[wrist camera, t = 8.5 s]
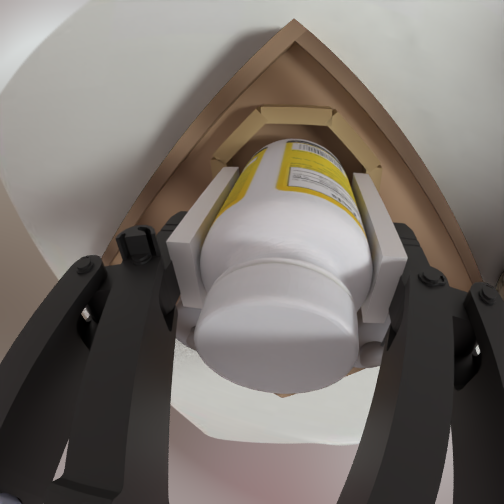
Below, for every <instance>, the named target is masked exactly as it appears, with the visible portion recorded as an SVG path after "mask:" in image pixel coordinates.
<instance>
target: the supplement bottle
mask: <svg viewBox="0 0 504 504" xmlns="http://www.w3.org/2000/svg"><path fill="white" fill-rule="evenodd" d="M200 271H201V278H202V281H203V284H204V287H205V290H206V292H207V296H206V298H205V301H204V304H203V307H202V310H201V313H200V316H199V318H198V321H197V323H196V327H195V330H194V343H195V347H196V350H197V352H198V354H199V356H200V357H201V359H202V360H203V361H204V363H205V364H206V365H207V366H209V367H210V368H211V369H212V370H213V371H214V372H216V373H217V374H219V375H220V376H222V377H223V378H225V379H227V380H229V381H231V382H233V383H235V384H238V385H240V386H244V387H247V388H250V389H253V390H258V391H263V392H269V393H280V394H293V393H305V392H310V391H315V390H319V389H322V388H325V387H328V386H330V385H332V384H334V383H336V382H338V381H339V380H341V379H342V378H343V377H345V376H346V375H347V374H348V373H349V372H350V371H351V370H352V368H353V367H354V365H355V363H356V361H357V358H358V353H359V336H358V320H357V311H358V310H359V309H360V307H361V306H362V305H363V303H364V301H365V299H366V297H367V295H368V293H369V290H370V286H371V282H372V274H373V266H372V258H371V253H370V248H369V244H368V240H367V237H366V234H365V230H364V227H363V223H362V220H361V217H360V213H359V210H358V207H357V204H356V201H355V198H354V195H353V192H352V189H351V186H350V183H349V180H348V178H347V175H346V173H345V171H344V169H343V167H342V165H341V164H340V162H339V161H338V160H337V158H336V157H335V156H334V155H333V154H332V153H331V152H329V151H328V150H327V149H325V148H324V147H322V146H320V145H318V144H316V143H314V142H311V141H307V140H303V139H284V140H279V141H276V142H273V143H271V144H269V145H267V146H265V147H263V148H262V149H260V150H259V151H258V152H257V153H256V154H255V155H254V156H253V157H252V158H251V159H250V161H249V162H248V163H247V165H246V166H245V168H244V170H243V171H242V173H241V175H240V177H239V178H238V180H237V182H236V183H235V185H234V187H233V189H232V190H231V192H230V194H229V196H228V197H227V199H226V201H225V203H224V204H223V206H222V208H221V210H220V211H219V213H218V215H217V216H216V218H215V220H214V222H213V224H212V226H211V228H210V230H209V232H208V234H207V237H206V239H205V241H204V244H203V247H202V252H201V258H200Z"/></svg>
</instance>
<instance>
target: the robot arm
mask: <svg viewBox="0 0 504 504" xmlns="http://www.w3.org/2000/svg"><path fill="white" fill-rule="evenodd" d="M238 178H239V167H223V168H222V169H221V171H220V172H219V173H218V174H217V176H216V177H215V178H214V179H213V181H212V182H211V183H210V184H209V186H208V187H207V188H206V189H205V191H204V192H203V193H202V194H201V196H200V197H199V198H198V200H197V201H196V202H195V203H194V205H193V206H192V207H191V209H190V210H189V211H180V212H178V213H176V214H175V215H173V216H172V217H170V219H169V220H168V221H167V222H166V224H165V225H164V226H163V227H162V229H161V231H159V232H158V234H157V235H156V233H155V229H154V228H153V227H152V226H148V225H137V226H133V227H130V228H128V229H125V230H124V231H122V232H121V233H119V234H118V235H117V237H116V238H115V239H116V242H117V245H118V248H119V251H120V254H121V257H122V263H121V264H117V265H110V266H104V263H103V261H102V259H101V258H100V257H99V256H96V255H89V256H86V257H82V258H81V259H79V260H78V261H76V262H75V263H74V264H73V265H72V266H71V267H70V268H69V269H68V271H67V272H66V273H65V274H64V275H63V277H62V278H61V279H60V280H59V281H58V283H57V284H56V286H54V288H53V289H52V290H51V292H50V293H49V294H48V295H47V297H46V298H45V299H44V301H43V302H42V303H41V305H40V306H39V307H38V309H37V310H36V311H35V313H34V314H33V315H32V317H31V318H30V320H29V321H28V322H27V324H26V325H25V327H24V328H23V330H22V331H21V332H20V334H19V335H18V337H17V338H16V340H15V341H14V343H13V344H12V346H11V348H10V349H9V351H8V352H7V354H6V356H5V357H4V359H3V360H2V362H1V364H0V504H43V503H44V504H169V499H168V449H169V447H168V445H169V420H170V401H171V385H172V372H173V360H174V349H175V338H176V329H177V320H178V310H177V307H176V302H177V300H178V298H179V296H181V300H182V303H183V306H184V307H191V308H199V309H202V307H203V304H204V301H205V298H206V296H207V292H206V290H205V287H204V284H203V281H202V278H201V271H200V258H201V252H202V247H203V244H204V241H205V239H206V237H207V234H208V232H209V230H210V228H211V226H212V224H213V222H214V220H215V218H216V216H217V215H218V213H219V211H220V210H221V208H222V206H223V204H224V203H225V201H226V199H227V197H228V196H229V194H230V192H231V190H232V189H233V187H234V185H235V183H236V182H237V180H238ZM351 189H352V192H353V195H354V198H355V201H356V204H357V207H358V210H359V213H360V217H361V220H362V223H363V227H364V230H365V234H366V237H367V240H368V244H369V248H370V253H371V258H372V266H373V274H372V282H371V286H370V290H369V293H368V295H367V297H366V299H365V301H364V303H363V305H362V306H361V310H362V318H363V323H384V322H385V320H386V317H387V315H388V312H389V315H390V320H391V323H390V325H389V328H388V330H387V332H386V334H385V337H384V339H383V341H382V343H381V345H380V346H382V347H383V346H384V350H383V355H382V360H381V365H380V370H379V374H378V379H377V383H376V387H375V392H374V396H373V400H372V403H371V407H370V411H369V414H368V418H367V421H366V425H365V428H364V431H363V435H362V438H361V441H360V444H359V447H358V450H357V453H356V456H355V459H354V461H353V464H352V467H351V470H350V472H349V475H348V477H347V480H346V482H345V485H344V487H343V490H342V492H341V494H340V497H339V499H338V501H337V504H435V501H436V498H437V494H438V490H439V486H440V482H441V478H442V473H443V469H444V464H445V459H446V453H447V447H448V440H449V433H450V425H451V431H452V444H453V465H454V489H453V491H454V492H453V504H504V301H503V299H502V297H501V296H500V294H499V293H498V291H497V290H496V289H494V287H493V286H491V285H489V284H487V283H483V282H475V283H474V284H473V285H472V286H471V288H470V290H469V292H465V291H462V290H459V289H456V288H453V287H450V286H449V283H448V280H447V278H446V276H445V275H444V274H443V273H442V272H441V271H439V270H438V269H436V268H434V267H431V266H430V264H429V262H428V260H427V258H426V256H425V254H424V252H423V250H422V247H420V243H419V241H418V240H417V237H416V236H415V234H414V232H413V230H412V229H411V228H409V227H408V226H407V225H406V224H405V223H395V222H392V220H391V218H390V216H389V214H388V211H387V209H386V207H385V205H384V203H383V201H382V199H381V197H380V195H379V193H378V191H377V189H376V187H375V185H374V183H373V182H372V180H371V178H370V176H369V174H363V173H353V179H352V188H351ZM84 308H86V309H87V311H88V313H89V315H90V316H89V317H88V318H87V319H86V320H85V319H84V318H83V316H82V315H81V313H82V311H83V310H84ZM477 345H479V349H480V354H479V355H478V354H477V352H476V349H475V348H476V346H477ZM68 439H69V444H68V449H67V457H66V463H65V469H64V473H63V475H62V476H61V478H59V479H57V480H55V481H53V478H54V476H55V473H56V470H57V467H58V465H59V462H60V459H61V457H62V454H63V452H64V449H65V447H66V444H67V442H68ZM52 481H53V482H52Z"/></svg>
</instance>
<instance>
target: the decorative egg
mask: <svg viewBox="0 0 504 504" xmlns="http://www.w3.org/2000/svg"><path fill="white" fill-rule="evenodd" d="M496 290H497V291H498V293H499V294H500V296H501V297H502V299H503V301H504V272H503V274H502V275H501V277H500V279H499V280H498V283H497V286H496Z"/></svg>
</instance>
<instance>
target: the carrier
mask: <svg viewBox="0 0 504 504" xmlns="http://www.w3.org/2000/svg"><path fill="white" fill-rule="evenodd" d="M284 139H303V140H307V141H311V142H314V143H316V144H318V145H320V146H322V147H324V148H325V149H327V150H328V151H329V152H331V153H332V154H333V155H334V156H335V157H336V158H337V160H338V161H339V162H340V164H341V165H342V167H343V169H344V171H345V173H346V175H347V178H348V180H349V183H350V186H351V188H352V179H353V173H363V174H369V176H370V178H371V180H372V182H373V183H374V185H375V187H376V189H377V191H378V193H379V195H380V197H381V199H382V201H383V203H384V205H385V207H386V209H387V211H388V214H389V216H390V218H391V220H392V222H395V223H405V224H406V225H407V226H408V227H409V228H411V229H412V230H413V232H414V234H415V236H416V237H417V240H418V241H419V243H420V247H422V250H423V252H424V254H425V256H426V258H427V260H428V262H429V264H430V266H431V267H434V268H436V269H438V270H439V271H441V272H442V273H443V274H444V275H445V276H446V278H447V280H448V283H449V286H450V287H453V288H456V289H459V290H462V291H465V292H469V290H470V288H471V286H472V285H473V284H474V283H475V282H483V280H482V278H481V275H480V272H479V270H478V267H477V265H476V262H475V260H474V257H473V255H472V253H471V250H470V248H469V246H468V244H467V241H466V239H465V237H464V235H463V233H462V231H461V229H460V226H459V224H458V222H457V220H456V218H455V216H454V214H453V213H452V211H451V209H450V207H449V205H448V203H447V201H446V199H445V198H444V196H443V194H442V192H441V191H440V189H439V187H438V185H437V184H436V182H435V180H434V179H433V177H432V175H431V174H430V172H429V171H428V169H427V167H426V166H425V164H424V163H423V161H422V160H421V158H420V157H419V155H418V154H417V152H416V151H415V149H414V148H413V146H412V145H411V143H410V142H409V141H408V139H407V138H406V136H405V135H404V134H403V132H402V131H401V129H400V128H399V127H398V125H397V124H396V123H395V122H394V120H393V119H392V118H391V116H390V115H389V114H388V113H387V111H386V110H385V109H384V108H383V106H382V105H381V104H380V103H379V102H378V100H377V99H376V98H375V97H374V96H373V94H372V93H371V92H370V91H369V90H368V89H367V88H366V86H365V85H364V84H363V83H362V82H361V81H360V80H359V79H358V78H357V77H356V75H355V74H354V73H353V72H352V71H351V70H350V69H349V68H348V67H347V66H346V65H345V64H344V63H343V62H342V61H341V60H340V59H339V58H338V57H337V56H336V55H335V54H334V53H333V52H332V51H331V50H330V49H329V48H328V47H326V46H325V45H324V44H323V43H322V42H321V41H320V40H319V39H318V38H317V37H315V36H314V35H313V34H312V33H311V32H310V31H309V30H307V29H306V28H305V27H304V26H303V25H301V24H300V23H299V22H298V21H297V20H295V19H293V20H292V21H290V22H289V23H288V24H287V25H286V26H285V27H283V28H282V29H281V30H280V31H279V32H278V33H277V34H276V35H275V36H274V37H272V38H271V39H270V40H269V41H268V42H267V43H266V44H265V45H264V46H263V47H262V48H261V49H260V50H259V51H258V52H257V53H256V54H255V55H254V56H253V57H252V58H251V59H250V60H249V61H248V62H247V63H246V64H245V65H244V66H243V67H242V68H241V69H240V70H239V71H238V72H237V73H236V74H235V75H234V76H233V77H232V78H231V79H230V80H229V81H228V82H227V84H226V85H225V86H224V87H223V88H222V89H221V90H220V91H219V92H218V94H217V95H216V96H215V97H214V98H213V99H212V100H211V101H210V103H209V104H208V105H207V106H206V107H205V108H204V110H203V111H202V112H201V113H200V114H199V116H198V117H197V118H196V119H195V120H194V122H193V123H192V124H191V125H190V127H189V128H188V129H187V130H186V132H185V133H184V134H183V135H182V137H181V138H180V139H179V141H178V142H177V143H176V144H175V146H174V147H173V148H172V150H171V151H170V152H169V154H168V155H167V156H166V158H165V159H164V161H163V162H162V163H161V165H160V166H159V167H158V169H157V170H156V172H155V173H154V174H153V176H152V177H151V179H150V180H149V182H148V183H147V185H146V186H145V188H144V189H143V191H142V192H141V194H140V195H139V197H138V198H137V200H136V201H135V203H134V204H133V206H132V207H131V209H130V210H129V212H128V214H127V215H126V217H125V218H124V220H123V222H122V223H121V225H120V227H119V228H118V230H117V232H116V233H115V235H114V237H113V238H112V240H111V242H110V244H109V245H108V247H107V249H106V251H105V252H104V254H103V256H102V258H101V259H102V261H103V263H104V266H110V265H117V264H121V263H122V257H121V254H120V251H119V248H118V245H117V242H116V239H115V238H116V237H117V235H118V234H119V233H121V232H122V231H124V230H125V229H128V228H130V227H133V226H137V225H148V226H152V227H153V228H154V229H155V233H156V235H157V234H158V232H159V231H161V229H162V227H163V226H164V225H165V224H166V222H167V221H168V220H169V219H170V217H172V216H173V215H175V214H176V213H178V212H180V211H189V210H190V209H191V207H192V206H193V205H194V203H195V202H196V201H197V200H198V198H199V197H200V196H201V194H202V193H203V192H204V191H205V189H206V188H207V187H208V186H209V184H210V183H211V182H212V181H213V179H214V178H215V177H216V176H217V174H218V173H219V172H220V171H221V169H222V168H223V167H239V177H240V175H241V173H242V171H243V170H244V168H245V166H246V165H247V163H248V162H249V161H250V159H251V158H252V157H253V156H254V155H255V154H256V153H257V152H258V151H259V150H260V149H262V148H263V147H265V146H267V145H269V144H271V143H273V142H276V141H279V140H284ZM176 307H177V310H178V320H177V329H176V338H177V339H178V340H179V341H180V342H181V343H183V344H184V345H186V346H187V347H189V348H191V349H193V350H195V351H197V350H196V347H195V343H194V330H195V327H196V323H197V321H198V318H199V316H200V313H201V310H202V309H199V308H191V307H184V306H183V303H182V300H181V296H179V298H178V300H177V302H176ZM357 320H358V336H359V353H358V358H357V361H356V363H355V365H354V367H353V368H352V370H351V371H350V372H349V373H348V374H347V375H346V376H348V375H351V374H353V373H356V372H358V371H361V370H363V369H365V368H372V367H377V366H380V365H381V360H382V355H383V350H384V346H383V347H382V346H380V345H381V343H382V341H383V339H384V337H385V334H386V332H387V330H388V328H389V325H390V323H391V320H390V315H389V312H388V315H387V317H386V320H385V322H384V323H363V318H362V310H361V307H360V309H359V310H358V311H357ZM346 376H345V377H346ZM274 394H276V395H278V396H280V397H282V398H284V397H287V396H291V395H294V394H297V393H293V394H280V393H274Z"/></svg>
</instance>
